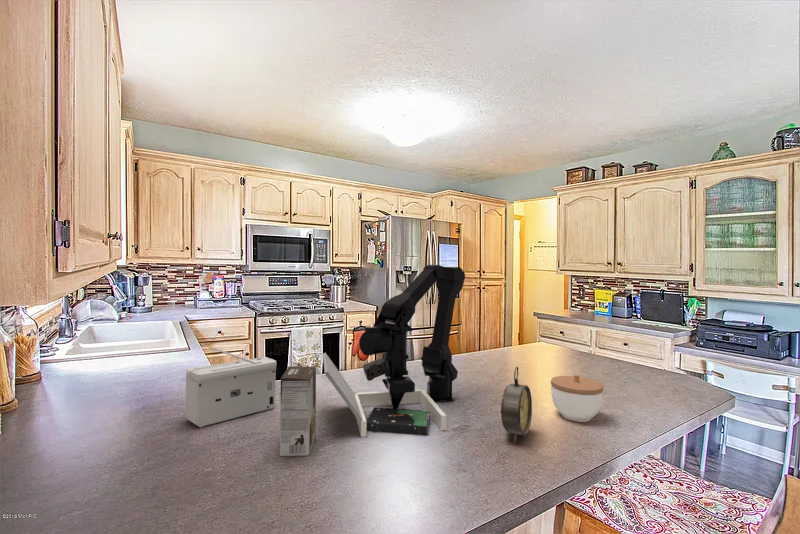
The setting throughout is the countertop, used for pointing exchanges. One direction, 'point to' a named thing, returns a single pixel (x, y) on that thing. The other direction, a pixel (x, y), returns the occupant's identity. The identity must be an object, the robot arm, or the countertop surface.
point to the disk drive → (398, 421)
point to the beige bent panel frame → (377, 398)
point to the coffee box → (298, 411)
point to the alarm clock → (516, 408)
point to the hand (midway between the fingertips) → (394, 409)
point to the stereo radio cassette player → (229, 389)
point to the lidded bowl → (576, 397)
